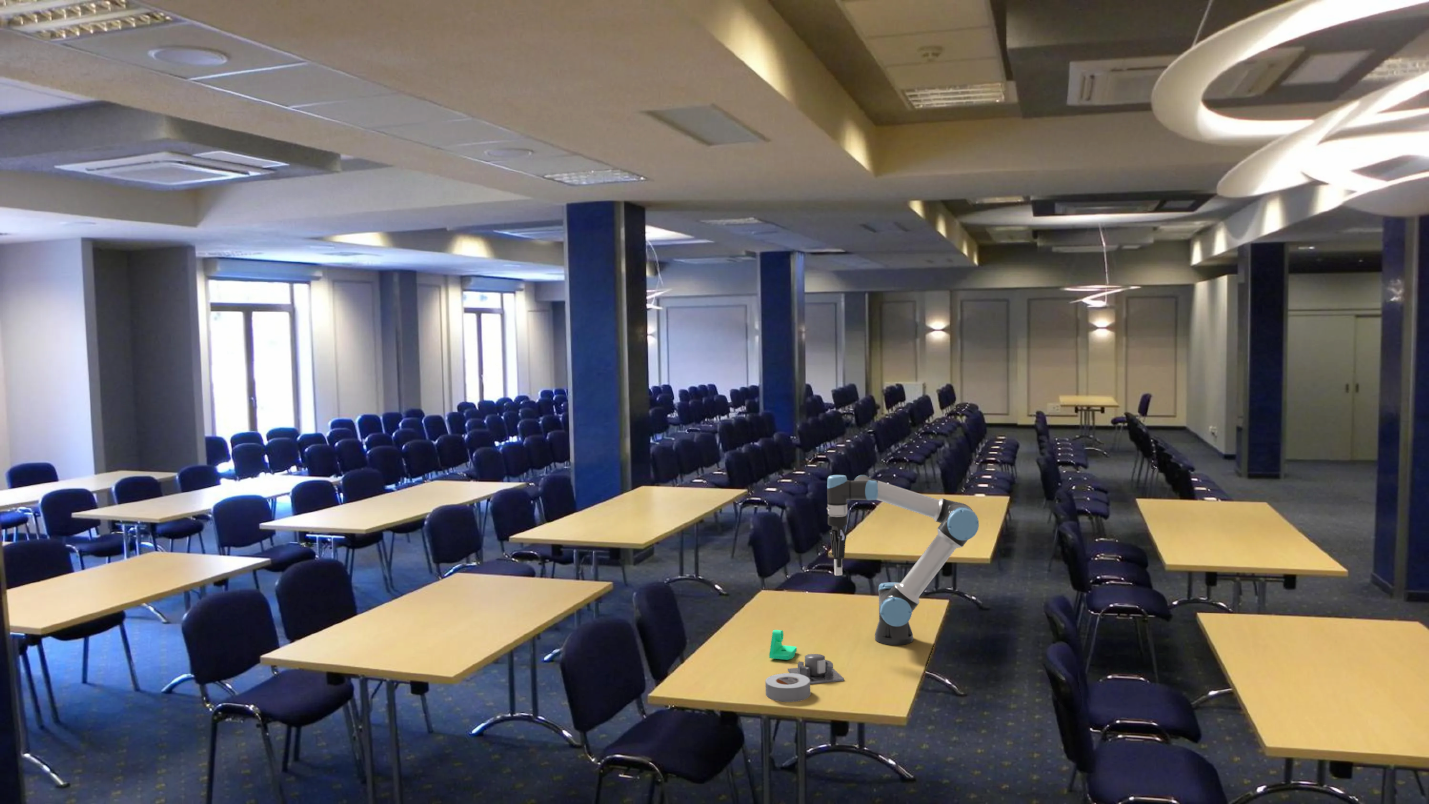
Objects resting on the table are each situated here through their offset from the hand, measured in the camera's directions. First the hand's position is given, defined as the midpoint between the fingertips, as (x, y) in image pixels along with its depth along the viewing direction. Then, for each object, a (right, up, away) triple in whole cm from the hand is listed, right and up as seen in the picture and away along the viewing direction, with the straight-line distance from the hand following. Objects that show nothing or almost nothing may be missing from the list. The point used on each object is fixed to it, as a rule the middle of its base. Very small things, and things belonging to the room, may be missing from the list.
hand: (838, 574), depth 390 cm
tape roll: (-23, -33, -47) cm, 62 cm away
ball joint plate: (-12, -31, -29) cm, 44 cm away
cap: (-12, -31, -29) cm, 44 cm away
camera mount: (-22, -31, -6) cm, 38 cm away
